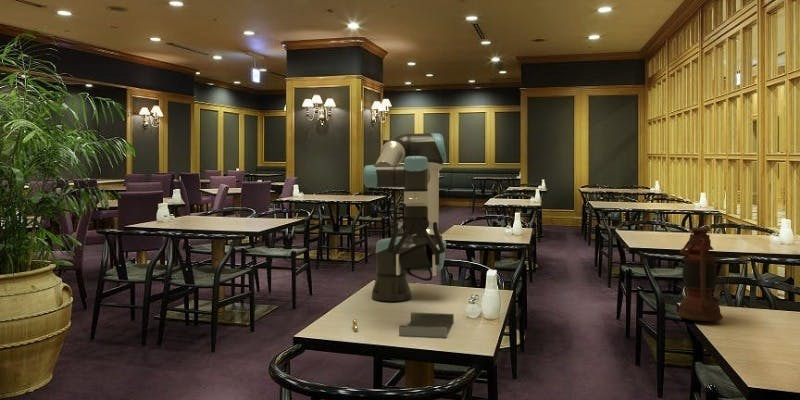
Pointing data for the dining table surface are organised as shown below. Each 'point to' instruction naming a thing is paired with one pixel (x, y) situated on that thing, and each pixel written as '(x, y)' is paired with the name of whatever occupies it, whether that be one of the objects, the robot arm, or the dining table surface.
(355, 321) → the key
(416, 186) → the robot arm
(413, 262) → the mug
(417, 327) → the cradle
